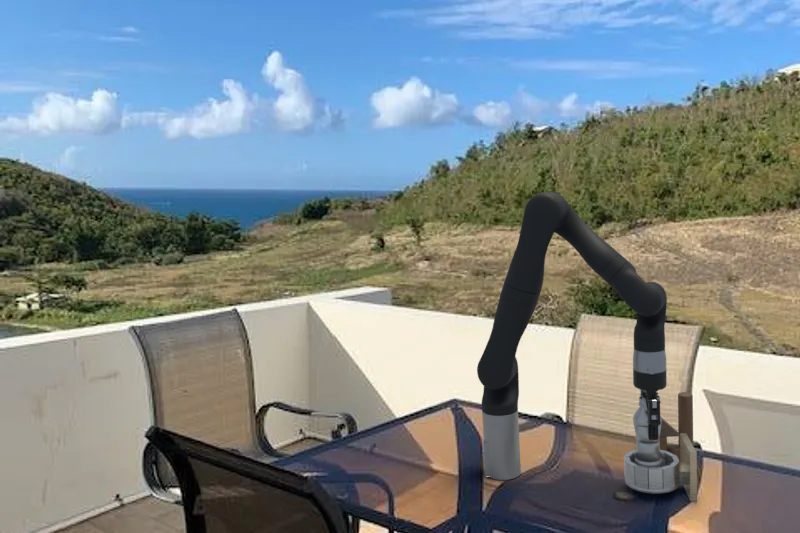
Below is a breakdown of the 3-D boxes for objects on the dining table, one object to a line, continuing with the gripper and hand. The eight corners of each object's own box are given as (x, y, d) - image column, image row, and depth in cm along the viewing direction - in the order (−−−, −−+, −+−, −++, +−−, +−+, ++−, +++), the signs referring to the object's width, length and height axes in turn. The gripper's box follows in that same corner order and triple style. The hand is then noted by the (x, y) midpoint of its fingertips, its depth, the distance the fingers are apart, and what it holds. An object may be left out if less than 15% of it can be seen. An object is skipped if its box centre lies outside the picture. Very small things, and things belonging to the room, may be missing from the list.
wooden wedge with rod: (650, 458, 210) (648, 393, 208) (691, 456, 210) (690, 391, 207) (653, 463, 207) (652, 397, 204) (695, 462, 206) (695, 395, 203)
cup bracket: (628, 501, 187) (627, 453, 185) (622, 479, 199) (621, 433, 197) (697, 501, 184) (696, 452, 183) (686, 479, 197) (686, 433, 195)
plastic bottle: (664, 482, 189) (663, 402, 185) (635, 481, 190) (633, 402, 187) (661, 470, 195) (660, 393, 192) (633, 470, 197) (631, 393, 193)
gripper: (629, 359, 195) (630, 422, 197) (637, 376, 181) (638, 444, 183) (661, 358, 194) (661, 422, 196) (671, 376, 180) (672, 444, 182)
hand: (650, 432), depth 190 cm, fingers open, 8 cm apart
